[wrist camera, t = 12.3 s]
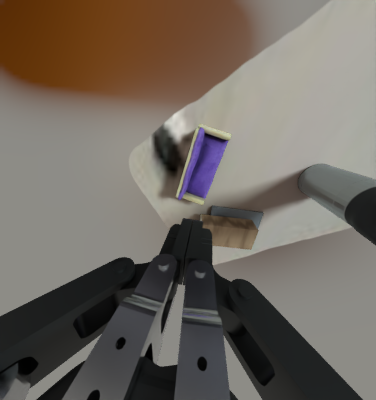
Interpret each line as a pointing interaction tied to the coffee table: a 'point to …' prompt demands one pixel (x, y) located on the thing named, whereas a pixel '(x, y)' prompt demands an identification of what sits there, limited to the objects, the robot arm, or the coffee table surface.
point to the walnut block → (230, 231)
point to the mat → (237, 214)
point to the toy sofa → (202, 163)
